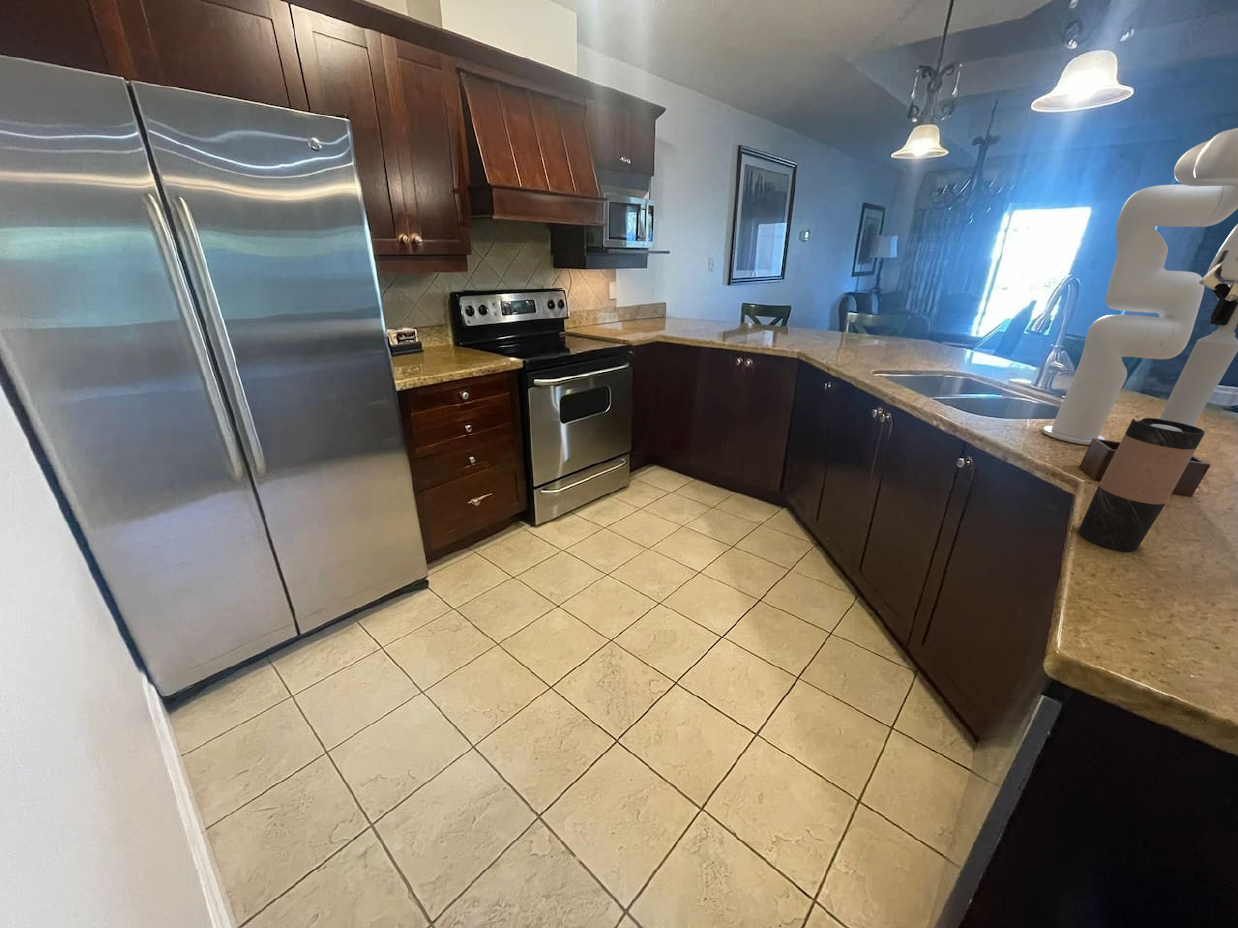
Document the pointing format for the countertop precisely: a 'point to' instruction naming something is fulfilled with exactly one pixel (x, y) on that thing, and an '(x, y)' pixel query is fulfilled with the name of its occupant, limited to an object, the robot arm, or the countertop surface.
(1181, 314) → the robot arm
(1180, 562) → the countertop surface
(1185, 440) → the travel mug
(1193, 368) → the bottle
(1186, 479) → the dark brown box
